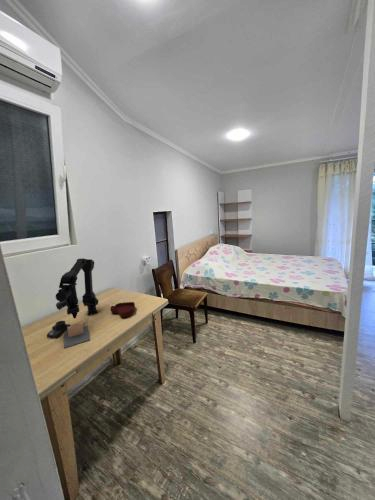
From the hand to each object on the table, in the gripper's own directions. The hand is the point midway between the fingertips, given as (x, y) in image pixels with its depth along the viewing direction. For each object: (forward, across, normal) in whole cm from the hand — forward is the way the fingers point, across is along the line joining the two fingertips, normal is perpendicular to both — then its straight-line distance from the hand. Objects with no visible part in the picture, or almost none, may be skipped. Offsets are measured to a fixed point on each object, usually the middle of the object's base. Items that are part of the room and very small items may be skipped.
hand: (74, 318), depth 128 cm
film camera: (+8, -3, -10) cm, 13 cm away
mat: (+8, +8, 0) cm, 11 cm away
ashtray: (+9, -6, +32) cm, 34 cm away
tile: (+7, +7, 0) cm, 10 cm away
